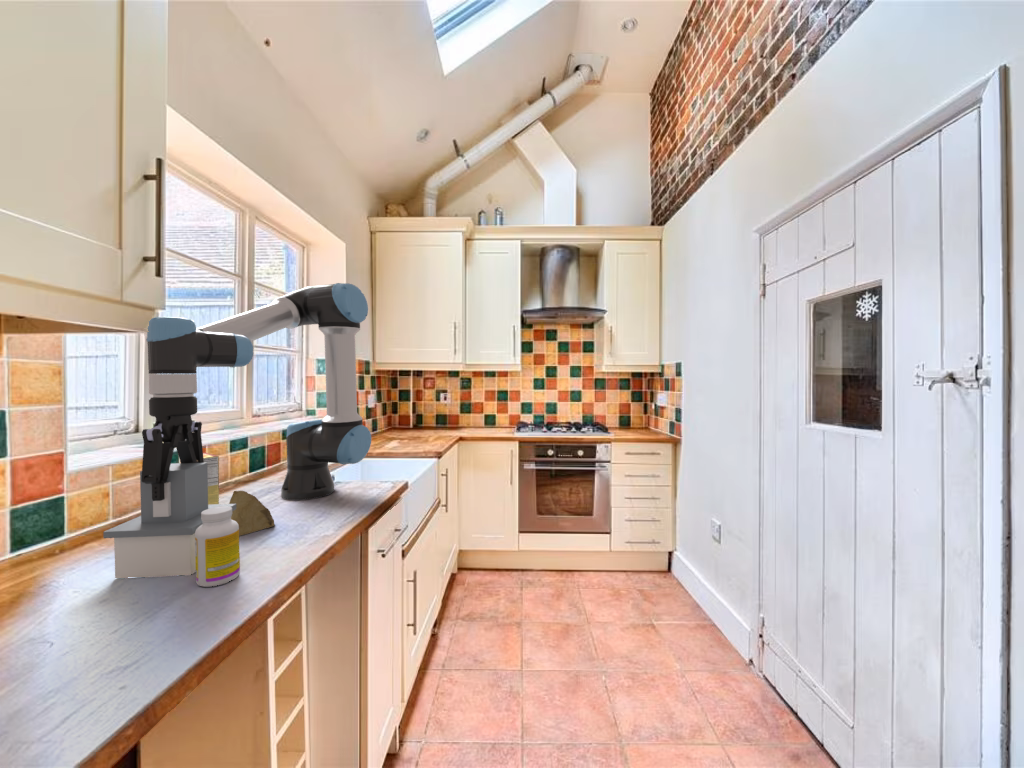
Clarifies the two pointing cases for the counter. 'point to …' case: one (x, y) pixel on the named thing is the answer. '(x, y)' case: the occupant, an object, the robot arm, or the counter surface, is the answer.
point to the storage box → (154, 556)
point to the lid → (172, 505)
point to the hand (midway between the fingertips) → (176, 509)
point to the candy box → (212, 477)
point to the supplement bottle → (217, 547)
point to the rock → (250, 513)
